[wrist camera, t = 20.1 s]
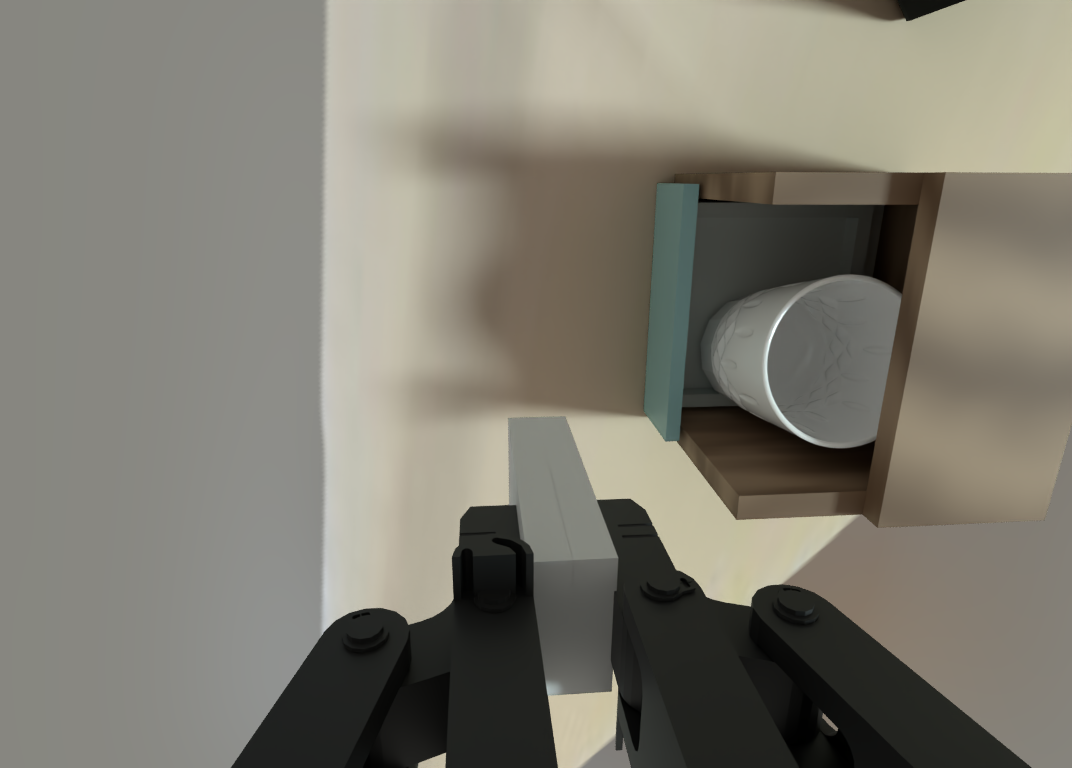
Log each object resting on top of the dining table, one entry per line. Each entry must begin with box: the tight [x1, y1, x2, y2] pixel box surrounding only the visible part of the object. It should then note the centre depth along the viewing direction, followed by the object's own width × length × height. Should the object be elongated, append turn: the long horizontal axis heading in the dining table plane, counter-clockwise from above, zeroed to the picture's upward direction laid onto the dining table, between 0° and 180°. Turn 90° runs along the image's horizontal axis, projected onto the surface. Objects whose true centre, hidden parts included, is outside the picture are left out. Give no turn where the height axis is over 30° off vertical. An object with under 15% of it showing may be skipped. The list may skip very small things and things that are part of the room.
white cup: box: [700, 274, 902, 448], centre depth 34 cm, size 8×8×10 cm
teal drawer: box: [644, 183, 885, 441], centre depth 37 cm, size 14×13×5 cm
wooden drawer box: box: [675, 172, 1072, 528], centre depth 33 cm, size 15×14×14 cm
